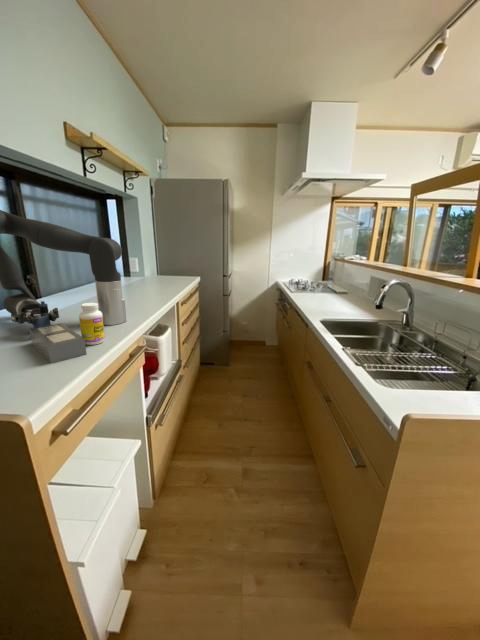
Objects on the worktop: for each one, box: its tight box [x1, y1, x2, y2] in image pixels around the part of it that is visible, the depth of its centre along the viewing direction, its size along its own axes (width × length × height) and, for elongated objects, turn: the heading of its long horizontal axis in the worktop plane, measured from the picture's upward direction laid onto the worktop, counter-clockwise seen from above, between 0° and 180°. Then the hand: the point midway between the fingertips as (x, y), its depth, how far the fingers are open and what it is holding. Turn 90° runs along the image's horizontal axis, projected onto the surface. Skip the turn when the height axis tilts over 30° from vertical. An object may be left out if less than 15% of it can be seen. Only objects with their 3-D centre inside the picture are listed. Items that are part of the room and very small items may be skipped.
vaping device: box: [32, 301, 52, 328], centre depth 90 cm, size 3×5×12 cm, turn 161°
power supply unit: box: [28, 323, 88, 364], centre depth 82 cm, size 9×20×5 cm, turn 48°
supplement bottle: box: [78, 302, 106, 346], centre depth 87 cm, size 7×7×13 cm
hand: (43, 319), depth 89 cm, fingers closed on vaping device, 5 cm apart
